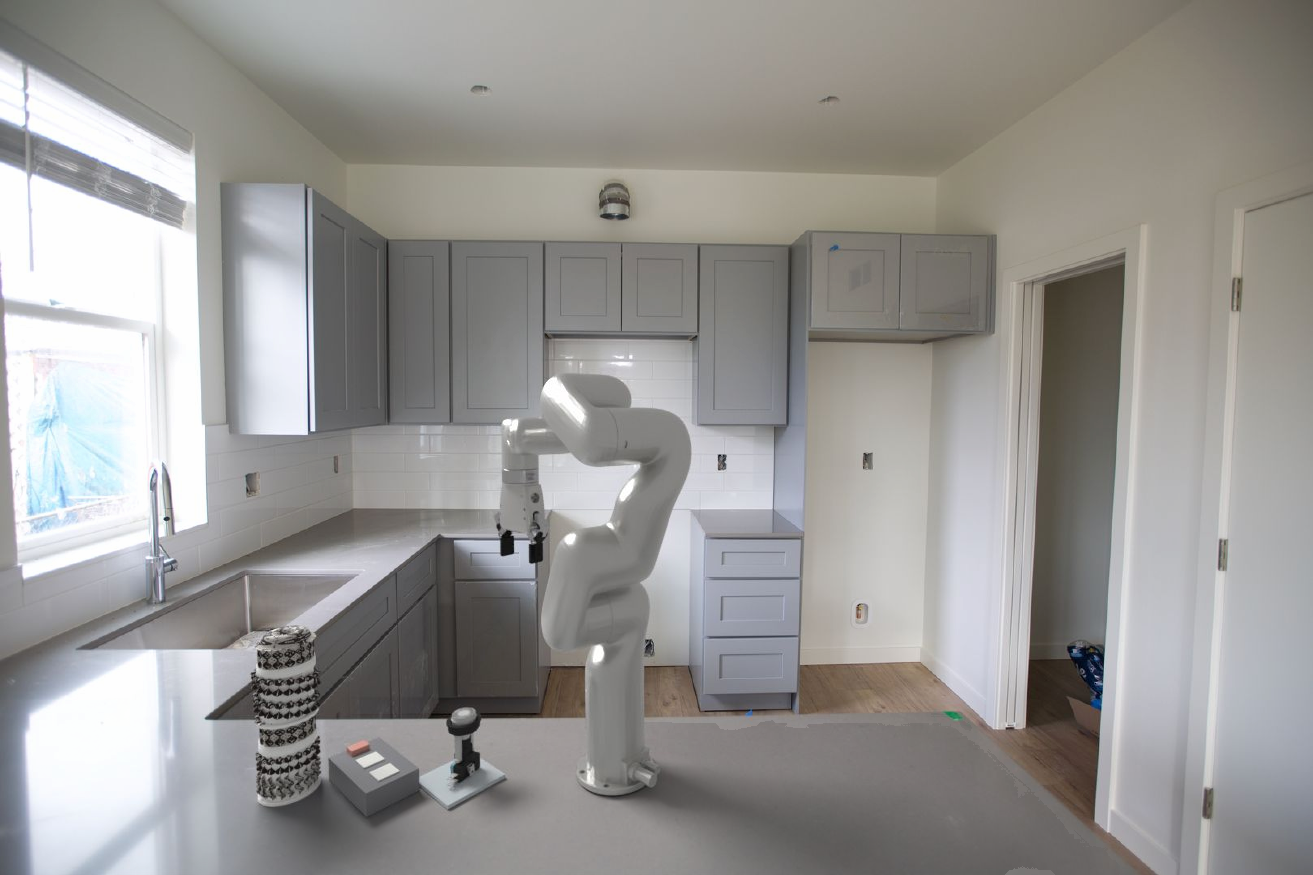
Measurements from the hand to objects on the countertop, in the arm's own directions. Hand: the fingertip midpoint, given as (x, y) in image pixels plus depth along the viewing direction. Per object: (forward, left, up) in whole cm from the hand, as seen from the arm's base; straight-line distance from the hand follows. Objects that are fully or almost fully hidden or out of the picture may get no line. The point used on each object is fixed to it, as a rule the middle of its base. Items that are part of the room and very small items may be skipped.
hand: (521, 558), depth 122 cm
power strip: (-8, +34, -29) cm, 45 cm away
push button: (-17, +25, -28) cm, 41 cm away
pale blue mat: (-17, +25, -29) cm, 41 cm away
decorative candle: (+1, +43, -29) cm, 52 cm away
